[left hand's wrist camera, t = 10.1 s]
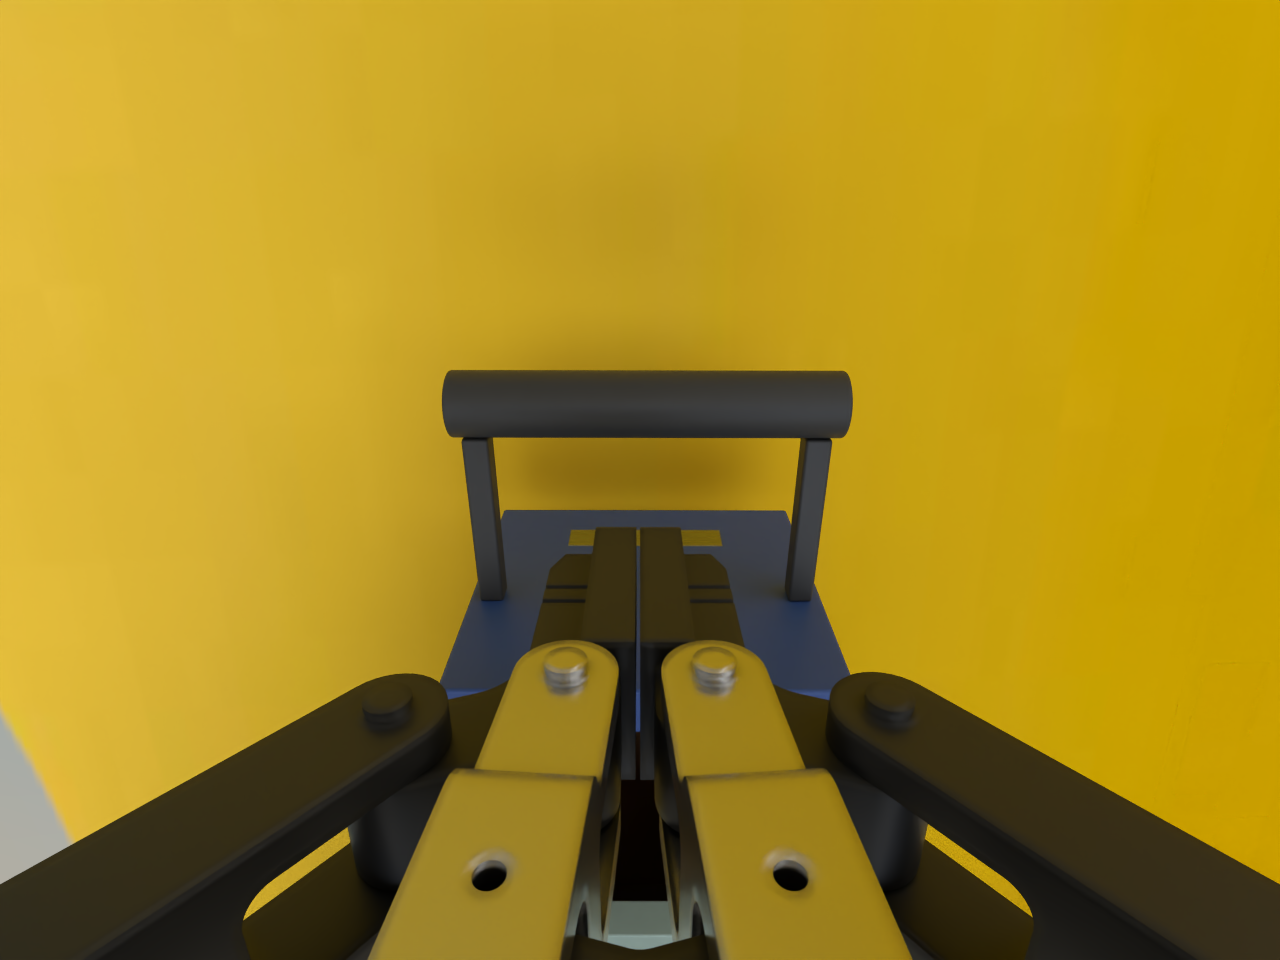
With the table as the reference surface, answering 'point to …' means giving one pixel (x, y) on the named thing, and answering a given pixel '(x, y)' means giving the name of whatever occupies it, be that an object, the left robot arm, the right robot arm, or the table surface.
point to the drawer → (740, 540)
